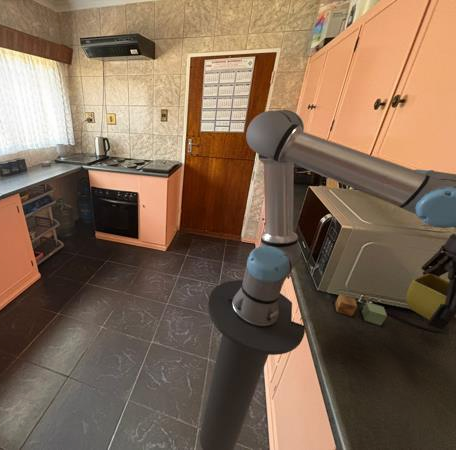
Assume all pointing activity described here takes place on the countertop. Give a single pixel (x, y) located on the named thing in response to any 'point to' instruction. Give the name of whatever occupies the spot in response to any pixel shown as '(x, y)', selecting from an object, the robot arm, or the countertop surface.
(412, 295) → the flower pot
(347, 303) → the oak block
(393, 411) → the countertop surface
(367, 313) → the green block
